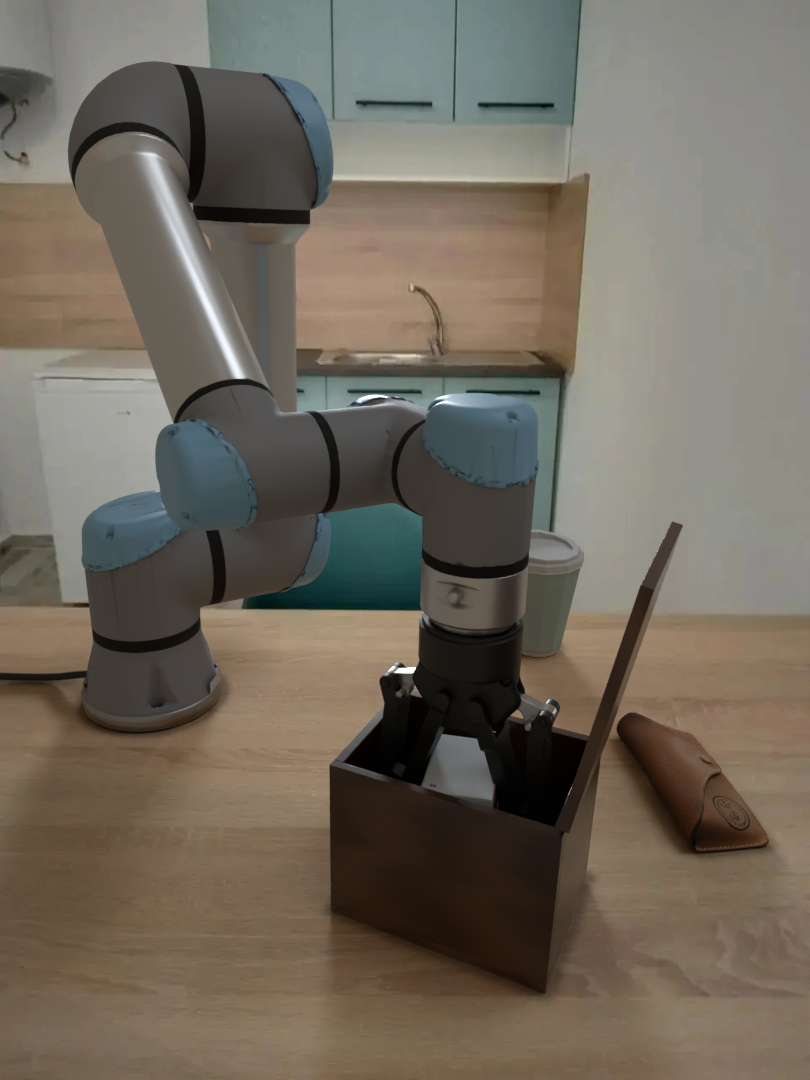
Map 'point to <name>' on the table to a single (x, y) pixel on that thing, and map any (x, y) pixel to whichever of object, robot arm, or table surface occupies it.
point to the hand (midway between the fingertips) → (457, 870)
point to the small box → (461, 771)
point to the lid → (620, 673)
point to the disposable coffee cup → (549, 591)
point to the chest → (459, 857)
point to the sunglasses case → (691, 786)
